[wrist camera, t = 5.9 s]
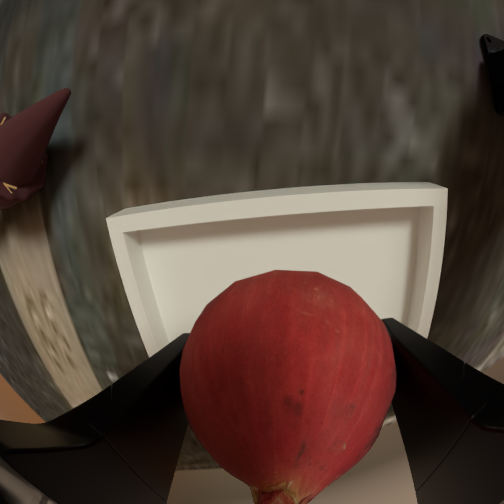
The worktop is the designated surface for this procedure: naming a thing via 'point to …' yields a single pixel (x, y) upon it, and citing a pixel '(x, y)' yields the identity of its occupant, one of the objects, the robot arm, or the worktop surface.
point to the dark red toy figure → (27, 148)
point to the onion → (287, 382)
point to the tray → (282, 249)
